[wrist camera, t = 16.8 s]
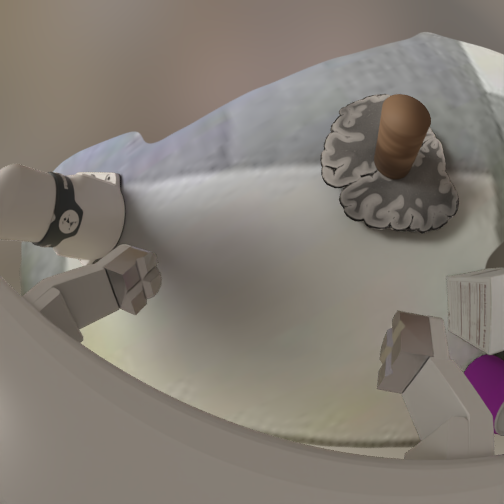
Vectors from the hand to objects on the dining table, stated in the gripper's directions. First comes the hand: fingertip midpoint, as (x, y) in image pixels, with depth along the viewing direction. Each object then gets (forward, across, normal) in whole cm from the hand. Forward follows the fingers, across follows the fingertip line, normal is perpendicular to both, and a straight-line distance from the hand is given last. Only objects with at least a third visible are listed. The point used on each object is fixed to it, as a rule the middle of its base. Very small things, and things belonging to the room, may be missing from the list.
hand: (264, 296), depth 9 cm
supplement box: (+22, -21, +14) cm, 34 cm away
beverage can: (+16, -27, +22) cm, 39 cm away
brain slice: (+31, -6, +3) cm, 32 cm away
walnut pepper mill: (+28, -7, 0) cm, 29 cm away
